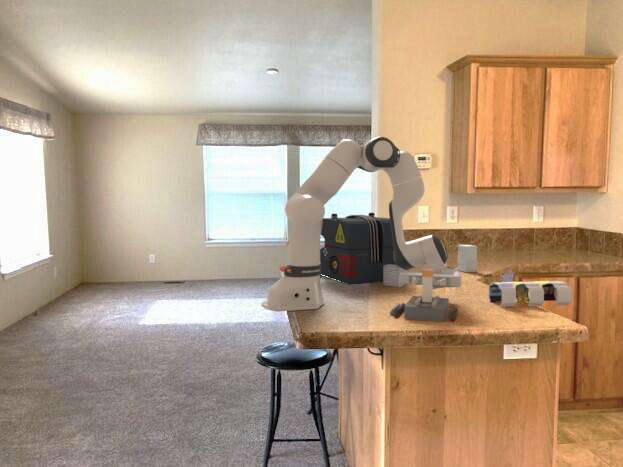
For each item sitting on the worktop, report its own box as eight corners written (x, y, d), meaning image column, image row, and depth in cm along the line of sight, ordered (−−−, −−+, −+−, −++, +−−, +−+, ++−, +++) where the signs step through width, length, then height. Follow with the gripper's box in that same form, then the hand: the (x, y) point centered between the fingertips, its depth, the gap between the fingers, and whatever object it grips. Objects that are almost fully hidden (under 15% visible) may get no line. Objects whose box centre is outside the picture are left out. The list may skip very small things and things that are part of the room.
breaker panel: (443, 321, 149) (444, 305, 149) (404, 318, 154) (404, 302, 153) (448, 310, 164) (448, 295, 164) (412, 307, 168) (412, 293, 168)
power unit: (401, 280, 222) (402, 214, 219) (349, 285, 209) (349, 215, 207) (368, 271, 247) (368, 212, 244) (319, 275, 234) (319, 213, 232)
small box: (476, 272, 243) (477, 246, 242) (465, 272, 241) (465, 246, 240) (468, 269, 251) (468, 244, 250) (457, 270, 249) (457, 244, 248)
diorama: (501, 308, 168) (502, 271, 166) (488, 302, 178) (489, 266, 177) (570, 306, 170) (572, 269, 168) (553, 300, 180) (555, 265, 179)
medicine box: (404, 286, 207) (404, 265, 207) (398, 287, 204) (398, 267, 203) (388, 283, 213) (388, 264, 212) (382, 285, 209) (383, 265, 209)
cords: (454, 322, 148) (454, 317, 148) (387, 316, 156) (387, 312, 156) (458, 310, 163) (458, 306, 163) (397, 305, 170) (397, 301, 170)
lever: (431, 302, 156) (432, 270, 156) (421, 301, 158) (422, 270, 157) (433, 300, 159) (433, 269, 159) (423, 299, 161) (423, 268, 160)
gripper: (403, 265, 174) (395, 271, 161) (463, 268, 166) (460, 274, 153) (402, 283, 174) (395, 290, 161) (462, 286, 167) (459, 294, 154)
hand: (427, 282), depth 157 cm, fingers open, 6 cm apart
